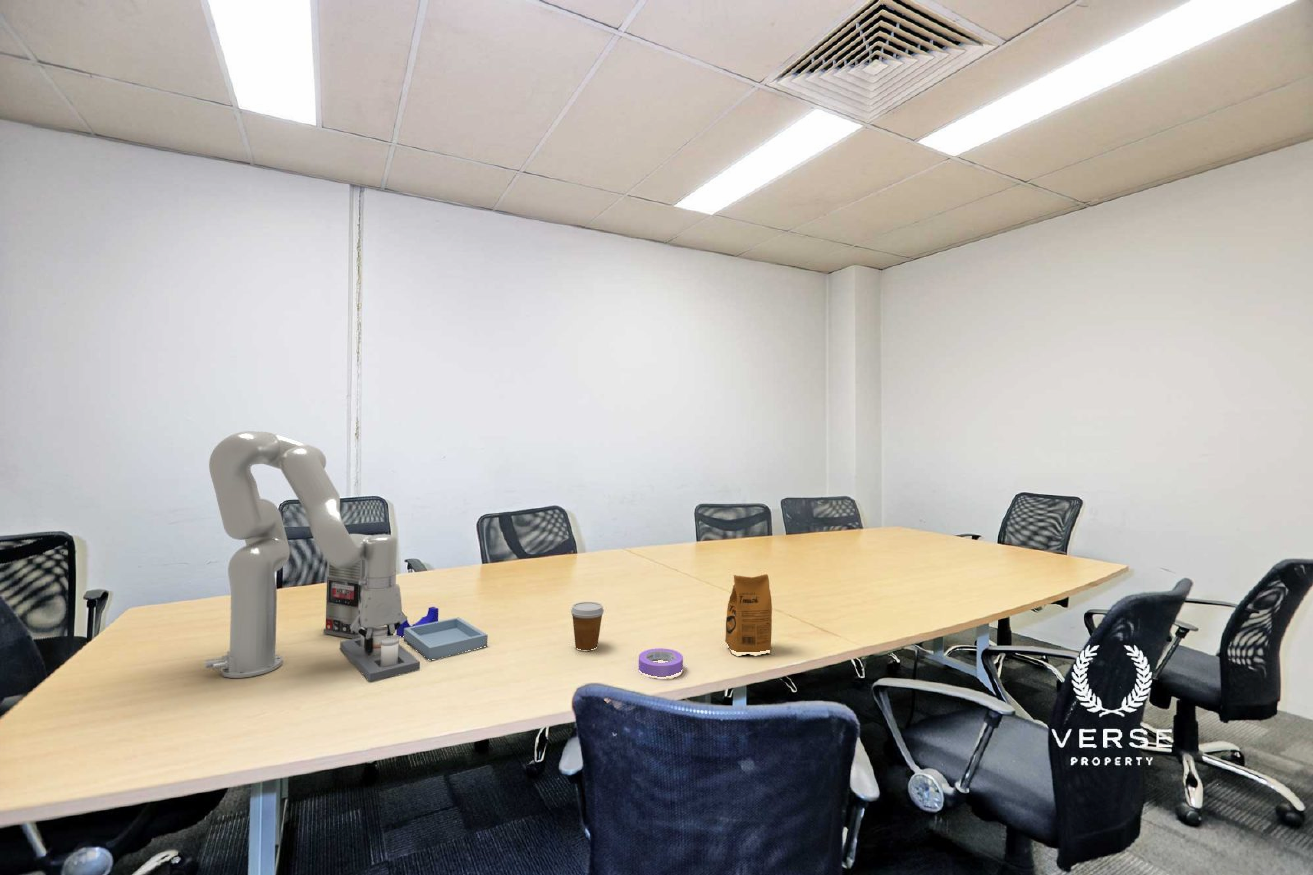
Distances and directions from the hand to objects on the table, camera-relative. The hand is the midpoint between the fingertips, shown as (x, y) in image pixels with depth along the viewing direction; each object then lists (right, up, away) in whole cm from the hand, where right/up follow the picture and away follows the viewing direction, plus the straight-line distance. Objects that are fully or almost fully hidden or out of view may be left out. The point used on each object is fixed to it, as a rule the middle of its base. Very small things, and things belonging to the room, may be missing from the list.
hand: (378, 649), depth 150 cm
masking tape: (+75, -5, -3) cm, 76 cm away
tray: (+13, -3, +12) cm, 18 cm away
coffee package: (+101, -5, +13) cm, 102 cm away
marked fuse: (0, -2, 0) cm, 2 cm away
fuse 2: (+6, -3, -7) cm, 9 cm away
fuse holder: (0, -2, 0) cm, 2 cm away
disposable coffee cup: (+54, -4, +12) cm, 56 cm away
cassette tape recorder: (-18, -2, +18) cm, 25 cm away
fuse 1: (-6, -2, +7) cm, 9 cm away
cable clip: (0, -3, +23) cm, 23 cm away
